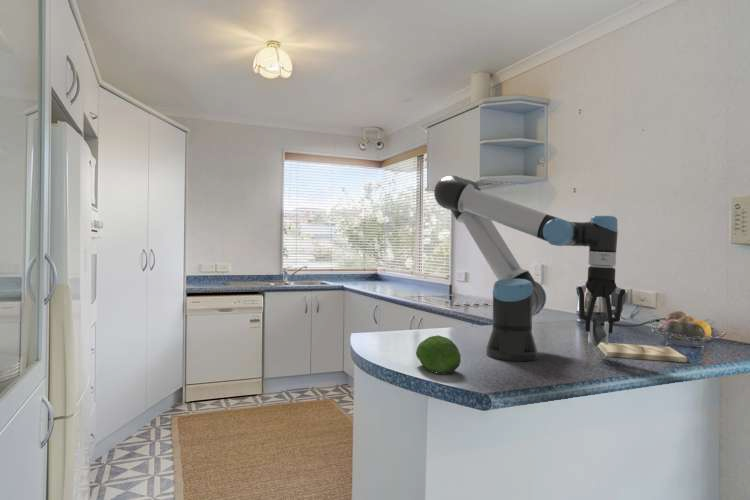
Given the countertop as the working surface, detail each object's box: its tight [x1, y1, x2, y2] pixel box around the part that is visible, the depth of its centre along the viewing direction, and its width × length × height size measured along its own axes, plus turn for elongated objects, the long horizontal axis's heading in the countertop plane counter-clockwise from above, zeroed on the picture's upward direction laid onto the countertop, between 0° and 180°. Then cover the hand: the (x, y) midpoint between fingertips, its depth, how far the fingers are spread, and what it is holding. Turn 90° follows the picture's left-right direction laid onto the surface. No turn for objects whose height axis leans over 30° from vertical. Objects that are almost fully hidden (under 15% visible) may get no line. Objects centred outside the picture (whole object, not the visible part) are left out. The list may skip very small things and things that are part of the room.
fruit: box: [415, 334, 462, 374], centre depth 126 cm, size 15×10×10 cm, turn 22°
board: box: [597, 341, 688, 363], centre depth 153 cm, size 22×16×2 cm
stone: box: [590, 314, 607, 347], centre depth 144 cm, size 11×4×10 cm, turn 164°
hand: (597, 342), depth 144 cm, fingers closed on stone, 4 cm apart
